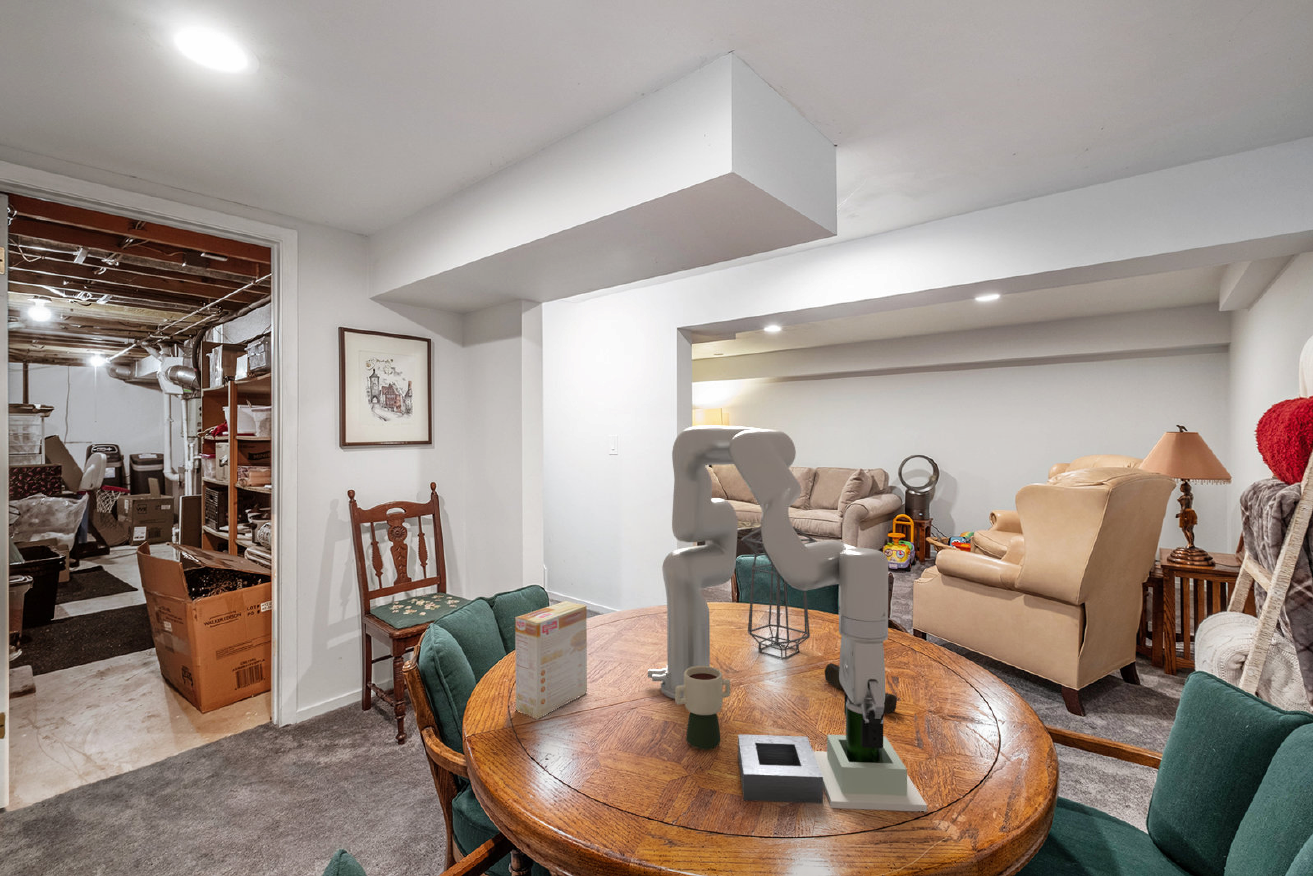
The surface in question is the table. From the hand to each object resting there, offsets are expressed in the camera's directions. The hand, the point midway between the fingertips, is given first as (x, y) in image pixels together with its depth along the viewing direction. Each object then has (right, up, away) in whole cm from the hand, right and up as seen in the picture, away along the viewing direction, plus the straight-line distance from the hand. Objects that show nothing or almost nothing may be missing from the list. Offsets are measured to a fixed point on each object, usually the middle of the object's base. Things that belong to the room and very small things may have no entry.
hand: (862, 730), depth 92 cm
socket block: (-14, -8, +1) cm, 16 cm away
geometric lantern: (-1, -9, +59) cm, 60 cm away
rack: (0, -8, 0) cm, 8 cm away
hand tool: (+10, -9, +31) cm, 34 cm away
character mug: (-25, -9, +11) cm, 29 cm away
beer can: (0, -7, 0) cm, 7 cm away
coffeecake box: (-56, -9, +29) cm, 63 cm away
